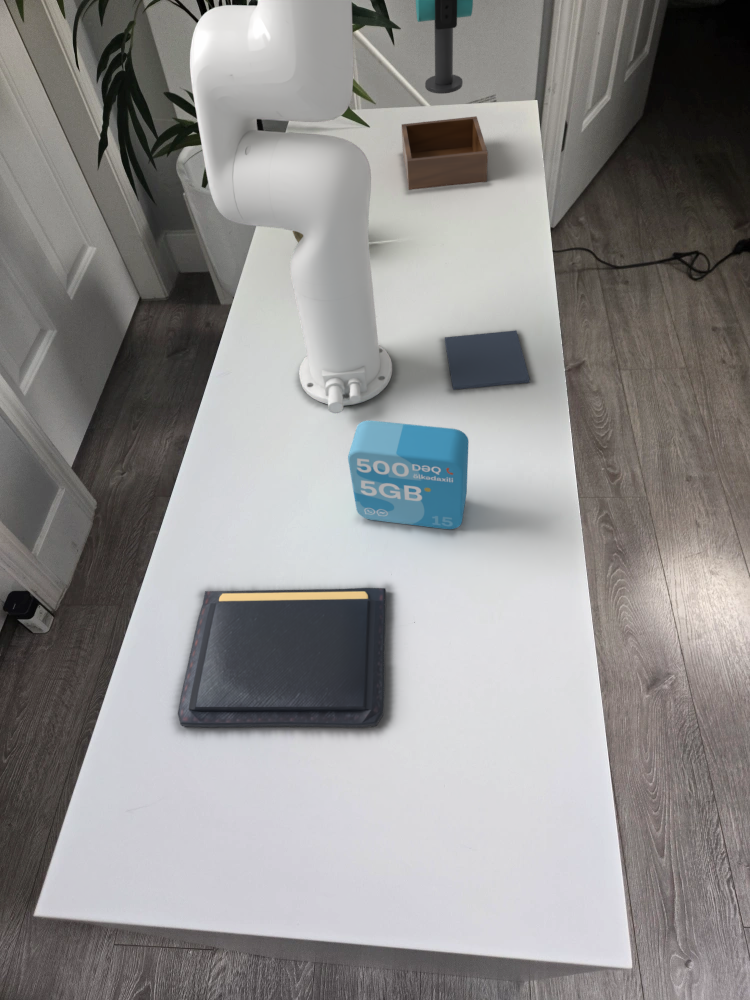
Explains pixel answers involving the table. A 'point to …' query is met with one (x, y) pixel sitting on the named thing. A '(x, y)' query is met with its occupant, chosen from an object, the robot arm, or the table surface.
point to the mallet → (443, 47)
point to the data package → (409, 473)
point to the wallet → (287, 659)
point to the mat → (486, 360)
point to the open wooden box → (444, 153)
